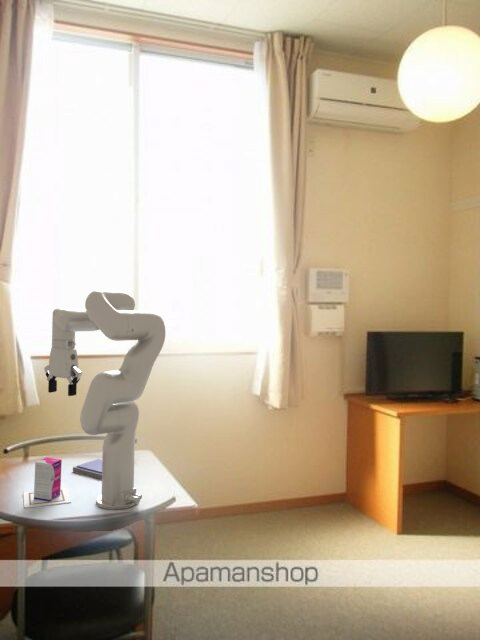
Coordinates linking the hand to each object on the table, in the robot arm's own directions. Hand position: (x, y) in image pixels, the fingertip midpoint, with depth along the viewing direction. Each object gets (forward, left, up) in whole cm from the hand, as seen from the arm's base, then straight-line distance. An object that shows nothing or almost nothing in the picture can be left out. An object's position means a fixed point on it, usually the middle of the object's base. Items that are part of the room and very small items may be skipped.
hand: (62, 393), depth 186 cm
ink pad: (-7, -11, -29) cm, 31 cm away
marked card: (-13, +17, -29) cm, 36 cm away
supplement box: (-14, +17, -28) cm, 36 cm away
